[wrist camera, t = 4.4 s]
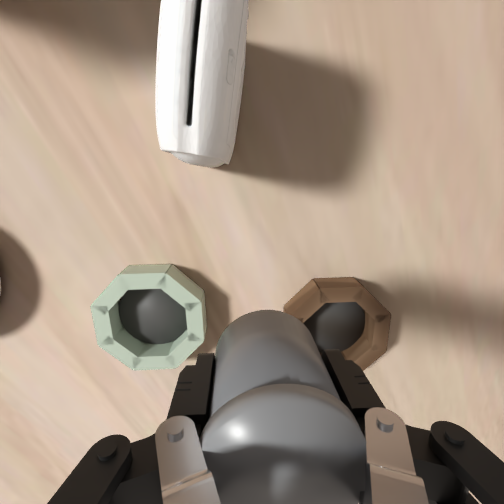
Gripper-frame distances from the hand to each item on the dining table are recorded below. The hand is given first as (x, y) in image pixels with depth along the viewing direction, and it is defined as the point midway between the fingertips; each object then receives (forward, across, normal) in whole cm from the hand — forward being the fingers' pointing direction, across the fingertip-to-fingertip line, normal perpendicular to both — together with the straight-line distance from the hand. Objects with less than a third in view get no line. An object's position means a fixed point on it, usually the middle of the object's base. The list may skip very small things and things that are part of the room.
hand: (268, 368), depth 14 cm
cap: (+1, 0, 0) cm, 1 cm away
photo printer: (+16, +3, -14) cm, 22 cm away
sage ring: (+16, +10, +5) cm, 19 cm away
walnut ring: (+16, -8, +7) cm, 19 cm away
